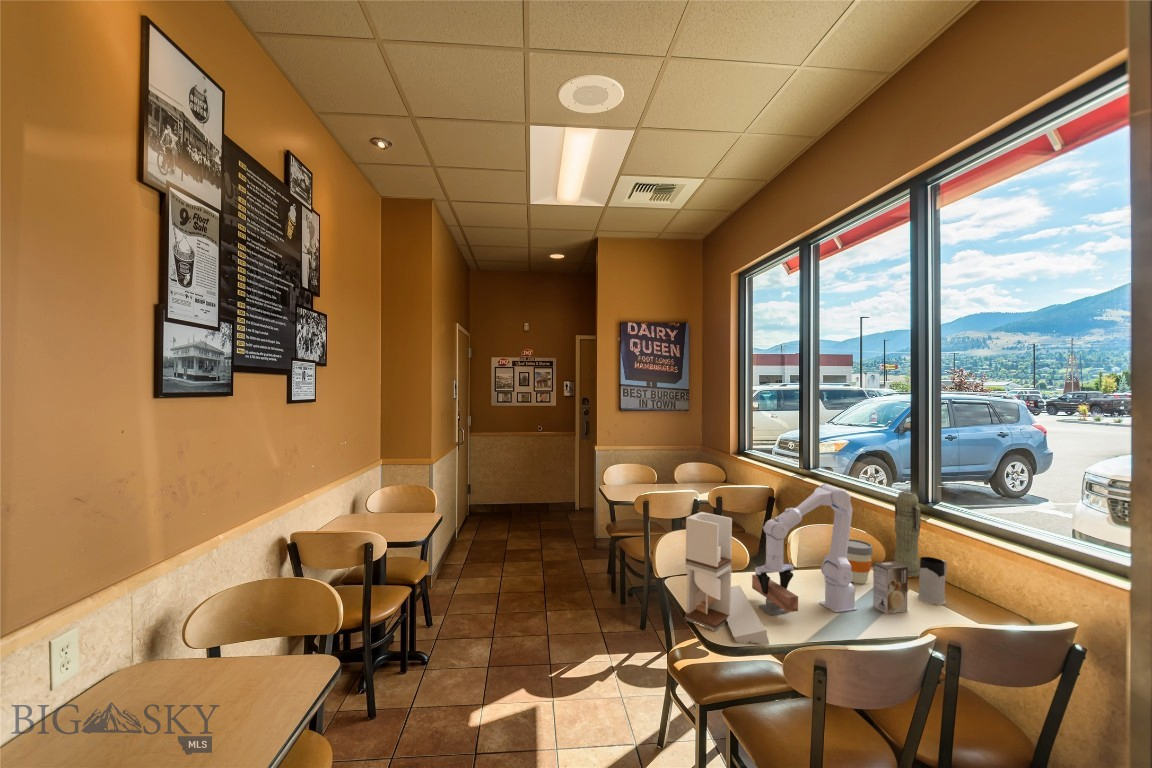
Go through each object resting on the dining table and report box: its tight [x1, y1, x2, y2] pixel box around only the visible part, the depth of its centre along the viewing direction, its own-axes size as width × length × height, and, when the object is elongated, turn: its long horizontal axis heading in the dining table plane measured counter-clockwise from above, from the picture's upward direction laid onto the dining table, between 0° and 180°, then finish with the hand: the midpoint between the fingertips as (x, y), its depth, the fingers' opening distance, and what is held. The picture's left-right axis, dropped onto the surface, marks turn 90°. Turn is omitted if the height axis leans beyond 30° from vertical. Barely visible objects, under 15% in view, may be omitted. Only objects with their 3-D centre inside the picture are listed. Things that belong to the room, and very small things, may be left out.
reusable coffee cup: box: [847, 538, 874, 584], centre depth 205 cm, size 12×13×15 cm
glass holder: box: [917, 556, 948, 606], centre depth 188 cm, size 9×14×15 cm, turn 117°
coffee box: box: [872, 561, 909, 615], centre depth 178 cm, size 9×6×16 cm
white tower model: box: [684, 511, 733, 632], centre depth 168 cm, size 11×11×35 cm
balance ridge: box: [758, 597, 790, 616], centre depth 176 cm, size 8×6×4 cm
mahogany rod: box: [751, 574, 799, 613], centre depth 176 cm, size 4×20×5 cm, turn 15°
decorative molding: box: [726, 584, 770, 645], centre depth 171 cm, size 34×5×10 cm
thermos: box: [893, 491, 922, 577], centre depth 212 cm, size 9×12×35 cm
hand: (774, 592), depth 176 cm, fingers open, 7 cm apart
